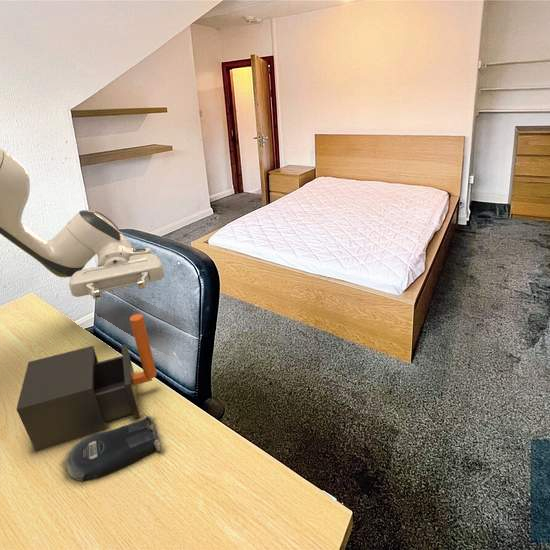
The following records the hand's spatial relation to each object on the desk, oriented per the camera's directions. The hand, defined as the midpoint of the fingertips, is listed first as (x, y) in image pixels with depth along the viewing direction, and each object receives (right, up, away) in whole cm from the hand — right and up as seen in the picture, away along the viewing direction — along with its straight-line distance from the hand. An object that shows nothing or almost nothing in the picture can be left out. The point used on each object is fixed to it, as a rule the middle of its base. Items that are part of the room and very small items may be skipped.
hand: (119, 290), depth 88 cm
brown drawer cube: (-6, -25, -7) cm, 27 cm away
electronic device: (+5, -29, -15) cm, 33 cm away
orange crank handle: (+2, -22, -4) cm, 23 cm away
